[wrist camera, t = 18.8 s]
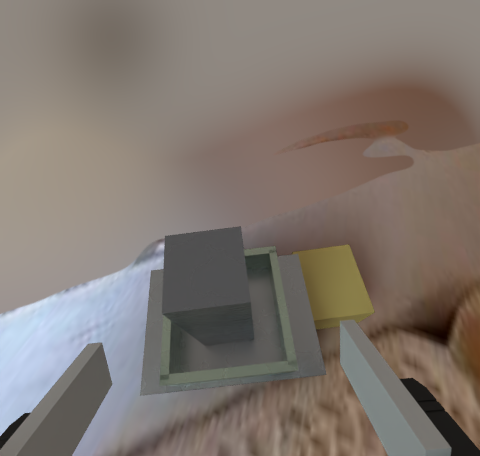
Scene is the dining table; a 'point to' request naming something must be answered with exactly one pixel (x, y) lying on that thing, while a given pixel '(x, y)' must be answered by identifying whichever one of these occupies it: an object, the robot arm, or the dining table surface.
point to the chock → (334, 286)
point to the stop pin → (208, 286)
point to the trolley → (243, 352)
